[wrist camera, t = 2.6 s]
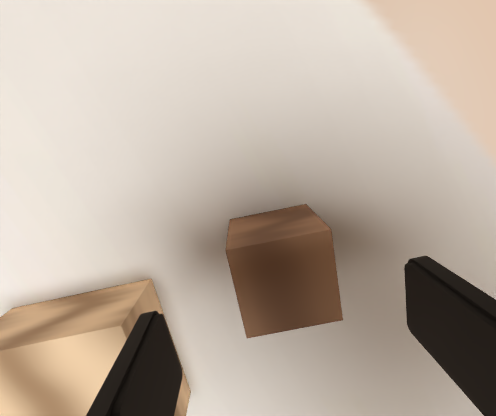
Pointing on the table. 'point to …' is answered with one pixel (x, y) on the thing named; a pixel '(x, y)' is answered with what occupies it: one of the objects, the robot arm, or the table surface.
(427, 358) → the table surface
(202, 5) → the table surface
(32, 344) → the oak block
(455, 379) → the robot arm
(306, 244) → the walnut cube
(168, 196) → the table surface
